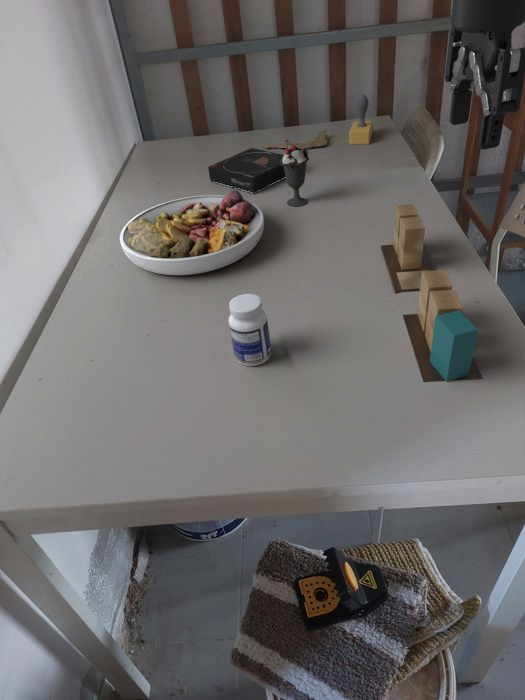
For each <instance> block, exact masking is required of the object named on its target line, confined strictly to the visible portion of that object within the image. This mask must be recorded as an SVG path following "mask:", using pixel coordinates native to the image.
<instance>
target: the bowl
mask: <svg viewBox="0 0 525 700" xmlns="http://www.w3.org/2000/svg"><path fill="white" fill-rule="evenodd" d="M264 228H265V218H264V213H263V211H262V210H261V208H260V207H259V205H257V204H255V202H254V203H253V202H252V201H250V200H248V199H246V198H244V197H243V195H242V194H241V192H239V190H236V189H233V190H229V191H228V192H227V193H226V194H225V195H223V194H203V195H193V196H192V195H191V196H186V197H181V198H176V199H172V200H168V201H165V202H162V203H160V204H157V205H154V206H152V207H150V208H147V209H145V210H143V211H141V212H140V213H138V214H137V215H135V216H134V217H132V218H131V219H130V220H129V221H128V222H126V224H125V225H124V226H123V228H122V229H121V231H120V234H119V242H120V246H121V248H122V251H123V253H124V254H125V255H126V257H127V258H128V259H129V260H130V261H131V262H132V263H133V264H135V266H138V267H139V268H141V269H142V270H146V271H148V272H151V273H155V274H159V275H166V276H167V275H168V276H190V275H198V274H204V273H209V272H213V271H215V270H219V269H222V268H224V267H227V266H229V265H232V264H234V263H236V262H237V261H239V260H241V259H243V258H244V257H245V256H246V255H248V254H249V253H250V252H251V251H252V250H253V249H254V248H255V247H256V246H257V244H258V243H259V241H260V240H261V238H262V236H263V233H264Z"/></svg>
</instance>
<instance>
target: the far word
mask: <svg viewBox="0 0 525 700" xmlns="http://www.w3.org/2000/svg"><path fill="white" fill-rule="evenodd" d="M393 217H394V219H393V233H392V244H382V245H380V250H381V252H382V256H383V259H384V263H385V265H386V269H387V272H388V275H389V280H390V282H391V285H392V289H393V292H394V294H395V295H397V294H401V293H415V292H420V286H421V277H422V271H435V267H434V265H433V263H432V261H431V258H430V257H429V254H428V251H427V249H426V247H425V245H424V242H425V235H426V234H425V233H426V227H425V225H424V222H423V220H422V219H421V216H419V212H418V210H417V208H416V207H415V204H414V203H407V204H396V205H394V216H393Z"/></svg>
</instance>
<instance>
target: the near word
mask: <svg viewBox="0 0 525 700" xmlns="http://www.w3.org/2000/svg"><path fill="white" fill-rule="evenodd" d="M434 270H435V269H434ZM453 287H454V286H453V283H452V281H451V280H450V278H449V275H448V273H447V271H446V269H439V270H438V269H436V270H435V271H422V277H421V286H420V291H419V294H418V304H417V313H410V314H409V313H408V314H402V318H403V321H404V324H405V328H406V330H407V334H408V337H409V340H410V345H411V347H412V350H413V353H414V356H415V357H414V358H415V360H416V363H417V366H418V369H419V372H420V375H421V379H422V382H423V383H434V382H437V383H438V382H446V380H445V379H444V378H443V377H442V376H441V374H440V373H439V372H438V371H437V370H436V369H435V367H434V366H433V365H432V364H431V363H430V354H431V347H432V339H433V332H434V325H435V317H436V316H439V315H442V314H446V313H450V312H454V311H460V312H461V313H462V314H463V310H464V307H463V305H462V303H461V300H460V299H459V297H458V295H457V292H456V290H455V289H453ZM481 373H482V372H481V371H480V369H479V366H478V364H477V362H476V359H475V357H474V356H473V357H472V362H471V367H470V372H469V376H465V377H462V378H458V379H454V380H451V381H450V382H453V381H455V382H456V381H472V380H473V381H474V380H475V381H476V380H484V377H483V375H482V374H481Z"/></svg>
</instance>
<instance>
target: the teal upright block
mask: <svg viewBox="0 0 525 700" xmlns="http://www.w3.org/2000/svg"><path fill="white" fill-rule="evenodd" d="M478 333H479V329H478V328H477V326H476V325H475V324H473V322H471V321H470V320H469V319H468V318H467V317H466V316H465V315H464V314H463V312H462V313H461V312H460V311H454V312H450V313H446V314H442V315H439V316H436V317H435V325H434V332H433V339H432V347H431V354H430V363H431V364H432V365H433V366H434V367H435V369H436V370H437V371H438V372H439V373H440V374H441V376H442V377H443V378H444V379H445V380H446V381H445V382H452V381H451V380H454V379H458V378H462V377H465V376H469V372H470V367H471V362H472V357H474V352H475V347H476V342H477V337H478Z"/></svg>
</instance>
